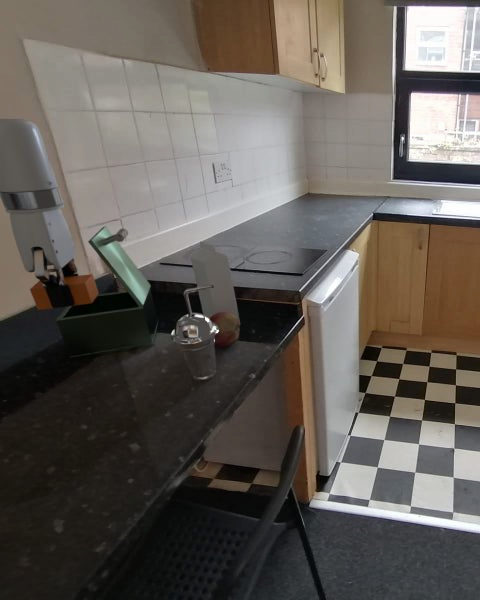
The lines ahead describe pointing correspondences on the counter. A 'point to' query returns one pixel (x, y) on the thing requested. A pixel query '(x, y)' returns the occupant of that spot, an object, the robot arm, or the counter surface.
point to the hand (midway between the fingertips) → (68, 299)
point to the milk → (214, 281)
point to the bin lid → (120, 263)
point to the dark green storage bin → (108, 325)
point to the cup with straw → (197, 340)
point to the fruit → (226, 329)
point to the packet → (79, 286)
